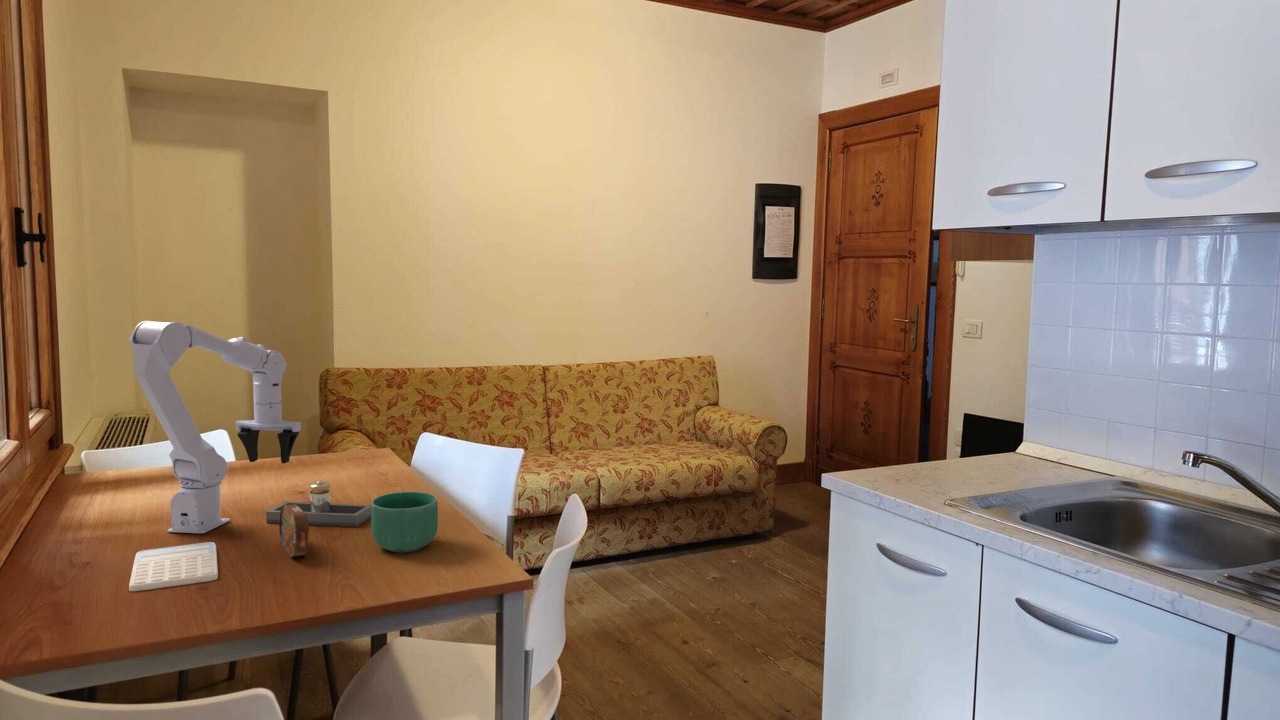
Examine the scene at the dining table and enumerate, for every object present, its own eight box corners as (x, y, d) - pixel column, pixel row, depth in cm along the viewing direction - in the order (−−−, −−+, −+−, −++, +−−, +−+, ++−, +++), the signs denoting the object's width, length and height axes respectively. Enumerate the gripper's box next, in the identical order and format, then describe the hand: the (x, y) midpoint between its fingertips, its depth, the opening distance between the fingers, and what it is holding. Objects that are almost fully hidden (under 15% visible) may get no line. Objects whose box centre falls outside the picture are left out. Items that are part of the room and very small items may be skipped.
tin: (278, 541, 165) (277, 500, 164) (295, 539, 167) (294, 498, 166) (293, 563, 153) (292, 519, 152) (312, 560, 154) (310, 516, 154)
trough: (356, 527, 175) (356, 515, 175) (266, 522, 177) (266, 511, 177) (372, 516, 183) (372, 505, 183) (286, 512, 185) (286, 501, 185)
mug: (443, 553, 160) (442, 504, 159) (374, 560, 155) (374, 511, 154) (429, 529, 175) (429, 484, 174) (366, 535, 170) (366, 489, 169)
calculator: (128, 595, 138) (127, 584, 137) (136, 559, 155) (135, 549, 155) (218, 582, 144) (218, 572, 144) (216, 549, 161) (215, 539, 161)
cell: (325, 518, 178) (325, 484, 177) (307, 518, 178) (306, 483, 177) (333, 513, 182) (333, 479, 181) (315, 512, 182) (314, 478, 182)
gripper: (307, 401, 191) (308, 459, 192) (247, 399, 192) (249, 457, 193) (291, 405, 184) (292, 466, 185) (229, 403, 185) (231, 463, 186)
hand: (269, 461), depth 189 cm, fingers open, 7 cm apart
